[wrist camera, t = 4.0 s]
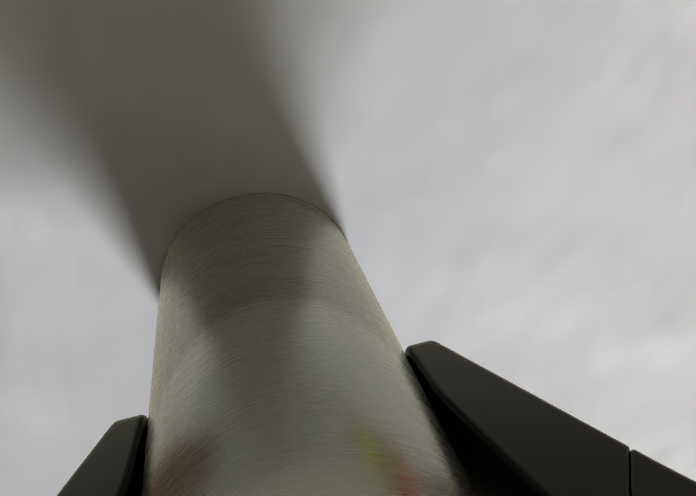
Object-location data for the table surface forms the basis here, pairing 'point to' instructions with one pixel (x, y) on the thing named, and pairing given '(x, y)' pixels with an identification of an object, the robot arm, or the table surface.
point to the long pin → (283, 368)
